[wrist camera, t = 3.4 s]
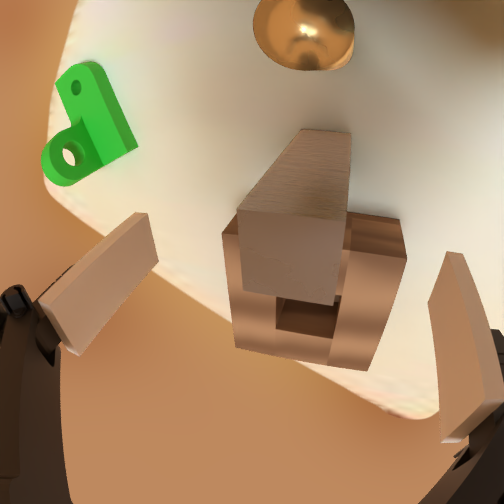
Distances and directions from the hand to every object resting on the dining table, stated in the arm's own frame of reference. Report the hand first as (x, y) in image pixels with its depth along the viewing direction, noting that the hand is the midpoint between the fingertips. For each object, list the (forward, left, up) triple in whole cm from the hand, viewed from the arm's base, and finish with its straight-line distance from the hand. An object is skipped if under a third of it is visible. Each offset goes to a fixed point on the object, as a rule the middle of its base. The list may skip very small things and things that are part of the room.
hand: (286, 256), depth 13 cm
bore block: (+12, 0, -14) cm, 19 cm away
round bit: (-9, 0, -14) cm, 17 cm away
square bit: (0, 0, -14) cm, 14 cm away
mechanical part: (-5, -23, -15) cm, 28 cm away
